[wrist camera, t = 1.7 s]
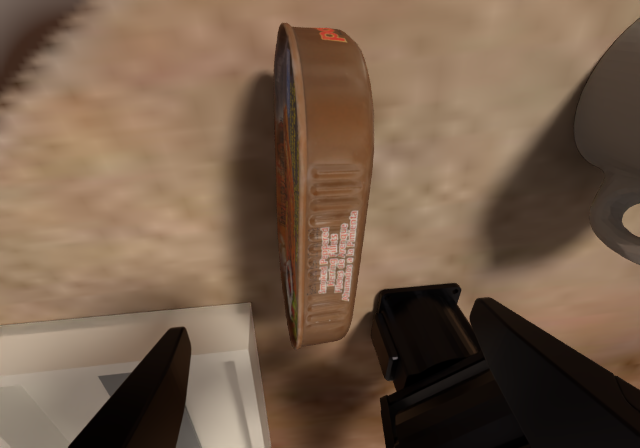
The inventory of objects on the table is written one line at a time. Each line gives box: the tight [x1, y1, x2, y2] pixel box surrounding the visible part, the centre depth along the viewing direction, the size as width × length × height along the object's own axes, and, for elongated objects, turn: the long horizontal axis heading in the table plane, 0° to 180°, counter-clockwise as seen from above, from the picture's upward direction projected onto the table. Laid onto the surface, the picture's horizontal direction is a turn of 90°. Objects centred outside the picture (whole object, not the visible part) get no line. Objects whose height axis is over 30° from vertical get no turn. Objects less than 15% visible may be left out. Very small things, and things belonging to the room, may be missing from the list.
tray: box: [0, 302, 271, 448], centre depth 27 cm, size 18×22×4 cm
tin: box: [274, 23, 374, 350], centre depth 16 cm, size 15×3×8 cm, turn 178°
